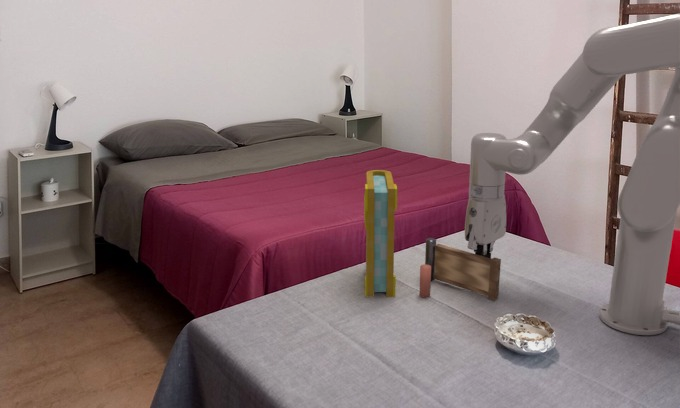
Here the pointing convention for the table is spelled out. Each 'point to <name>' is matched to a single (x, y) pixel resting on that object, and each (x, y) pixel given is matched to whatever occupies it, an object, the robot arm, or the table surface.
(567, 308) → the table surface
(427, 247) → the gate post
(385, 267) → the book
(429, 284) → the post
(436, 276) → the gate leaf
